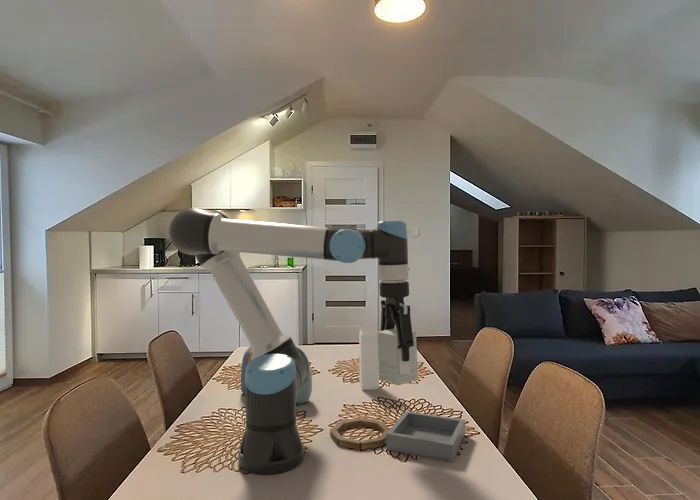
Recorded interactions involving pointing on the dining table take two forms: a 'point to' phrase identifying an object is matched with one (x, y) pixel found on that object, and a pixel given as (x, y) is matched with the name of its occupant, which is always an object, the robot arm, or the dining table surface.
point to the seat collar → (356, 443)
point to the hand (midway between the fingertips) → (397, 368)
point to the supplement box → (394, 358)
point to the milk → (368, 357)
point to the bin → (426, 436)
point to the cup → (305, 390)
